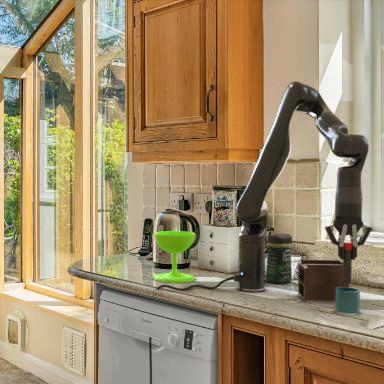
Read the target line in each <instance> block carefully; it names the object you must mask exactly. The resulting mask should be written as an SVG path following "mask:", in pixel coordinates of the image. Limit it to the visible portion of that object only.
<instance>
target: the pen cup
mask: <svg viewBox="0 0 384 384" xmlns="http://www.w3.org/2000/svg"><path fill="white" fill-rule="evenodd" d="M334 311H335V312H337V313H341V314H352V315H353V314H354V315H355V314H359V313H360V312H361V290H360V289H359V288H356V287H350V286H349V287H338V288H335V301H334Z"/></svg>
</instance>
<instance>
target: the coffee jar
mask: <svg viewBox="0 0 384 384" xmlns="http://www.w3.org/2000/svg"><path fill="white" fill-rule="evenodd" d="M266 237H267V238H266V246H267V258H266V259H267V262H266V270H265V280H266V282H268V283H271V284H286V283H290V282H292V279H293V274H292V247H293V237H292V235H291V234H289V233H282V232H278V233H269V235H267V236H266Z"/></svg>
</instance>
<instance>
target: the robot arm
mask: <svg viewBox="0 0 384 384" xmlns="http://www.w3.org/2000/svg"><path fill="white" fill-rule="evenodd" d="M295 112H298V113H301V114H305V115H307V116H309V117H311V118H312V119H313V120H314V125H315V128H316V129H317V131H318V132H319V134H320V135H322V137H323V138H324V139H325V140H326V142H327V145H328V146H329V149H330V152H331V153H332V154H333V156H335V157H337V158H341V159H349V160H348V163H347V164H346V165H343V166H339V167H337V169H336V183H335V185H336V188H335V195H334V220H333V221H332V223H331V224H328V225H325V226H324V230H325V232H326V234H327V236H328V238H329V240H330V242H331V244H333V245H334V246H337V257H338V258H339V260H341V261H343V260H344V247H343V246H344V242H345V240H346V236H349V238H350V242H351V243H352V261H355V260H356V259H357V257H358V248H359V247H360V246H364V245H365V243H366V241H367V239H368V238H369V236H370V234H371V232H372V230H373V228H372V227H371V226H369V225H367V224H364V222H363V190H362V189H363V188H362V186H363V185H362V181H363V180H362V179H363V170H364V167H365V163H366V160H367V157H368V155H369V154H368V153H369V150H370V148H369V147H370V143H369V141H368V139H367V137H366V136H365V135H363V134H361V133H359V134H356V133H349V128H348V126H347V125H346V124H345V123H344V121H342V120H341V118H339V117H338V116H337V115H336V114H335V113H334V112H333V111H332V110H331V108H329V106H328V105H327V103H326V101H325V100H324V98H323V97H322V95H321V94H320V91H318V89H316V88H314V87H313V86H310V85H309V84H305V83H303V82H300V81H296V80H295V81H292V82H290V83H289V84H288V85H287V86H286V88H285V90H284V92H283V94H282V97H281V100H280V103H279V106H278V109H277V112H276V115H275V118H274V121H273V123H272V126H271V128H270V131H269V133H268V136H267V138H266V140H265V142H264V145H263V147H262V150H261V151H260V153H259V157H258V160H257V162H256V164H255V167H254V169H253V172H252V174H251V177H250V180H249V182H248V184H247V186H246V188H245V190H244V191H243V193H242V194H241V197H240V198H239V200H238V202H237V204H236V208H235V209H236V210H235V212H236V216H237V218H238V220H239V221H241V222H242V223H241V224H242V225H241V230H240V232H239V233H238V262H237V272H235V273H233V276H231V277H228V278H225V279H223V280H221V281H220V282H218V283H217V284H216V285H215V286H206V285H203V284H190V285H189V286H187V287H181V288H180V287H175V286H172V285H169V284H161V285H159V286H157V287H156V290H157V291H158V290H160V289H162V288H168V289H172V290H174V291H180V292H184V291H188V290H191V289H192V288H203V289H207V290H215V289H218V288H219V287H221V285H222V284H224V283H225V282H229V281H232V280H233V282H235V283H237V289H238V291H241V292H250V293H251V292H263V291H265V290H266V283H267V280H266V237H267V233H268V217H269V215H268V214H269V213H268V212H269V211H268V205H267V203H266V201H265V199H266V197H267V195H268V192H269V191H270V189H271V187H272V185H273V184H274V183H275V181H276V180H277V179H278V178H279V176H280V175H281V173H282V172H283V170H284V168H285V166H286V165H287V161H288V159H289V157H290V155H291V152H292V139H291V137H292V136H291V123H292V120H293V119H292V118H293V116H294V113H295ZM334 228H335V229H334ZM335 230H336V231H337V232H338V236H337V238H338V239H337V238H336V236H335V234H334V231H335ZM360 230H361V232H362V233H361V234H360V237H359V239H358V233H359V232H360ZM148 347H149V349H148V350H149V351H148V352H149V354H148V355H149V384H153V355H152V353H153V352H152V336H148Z"/></svg>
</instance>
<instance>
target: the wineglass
mask: <svg viewBox="0 0 384 384" xmlns="http://www.w3.org/2000/svg"><path fill="white" fill-rule="evenodd" d="M153 234H154V239H155V242H156V244H157V246H158V247H159V248H160V249H161V250H163V251H164V252H166V253H168V254H171V270H170V271H169V272H163V273H158V274H156V275H155V276H154V277H153V279H154V280H155V281H158V282H163V283H172V284H173V283H175V284H178V283H179V284H180V283H189V282H194V281H195V280H196V279H195V276H193V275H192V274H189V273H183V272H179V270H178V254H182V253H184V252H186V251H187V250H189V249H190V248H191V246H192V245H193V244H194V241H195V237H196V233H195V232H192V231H184V230H183V231H181V230H166V231H163V230H162V231H156V232H154V233H153Z"/></svg>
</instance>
